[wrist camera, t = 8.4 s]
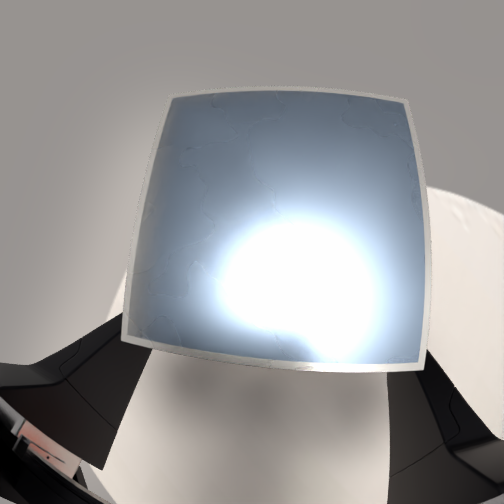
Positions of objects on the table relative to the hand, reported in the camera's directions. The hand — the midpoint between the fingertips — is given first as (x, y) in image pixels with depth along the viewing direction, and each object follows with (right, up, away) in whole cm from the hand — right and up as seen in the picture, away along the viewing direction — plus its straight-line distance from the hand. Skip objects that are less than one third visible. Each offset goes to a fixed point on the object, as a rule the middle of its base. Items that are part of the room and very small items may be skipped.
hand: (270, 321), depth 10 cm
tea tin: (+2, +1, +7) cm, 8 cm away
